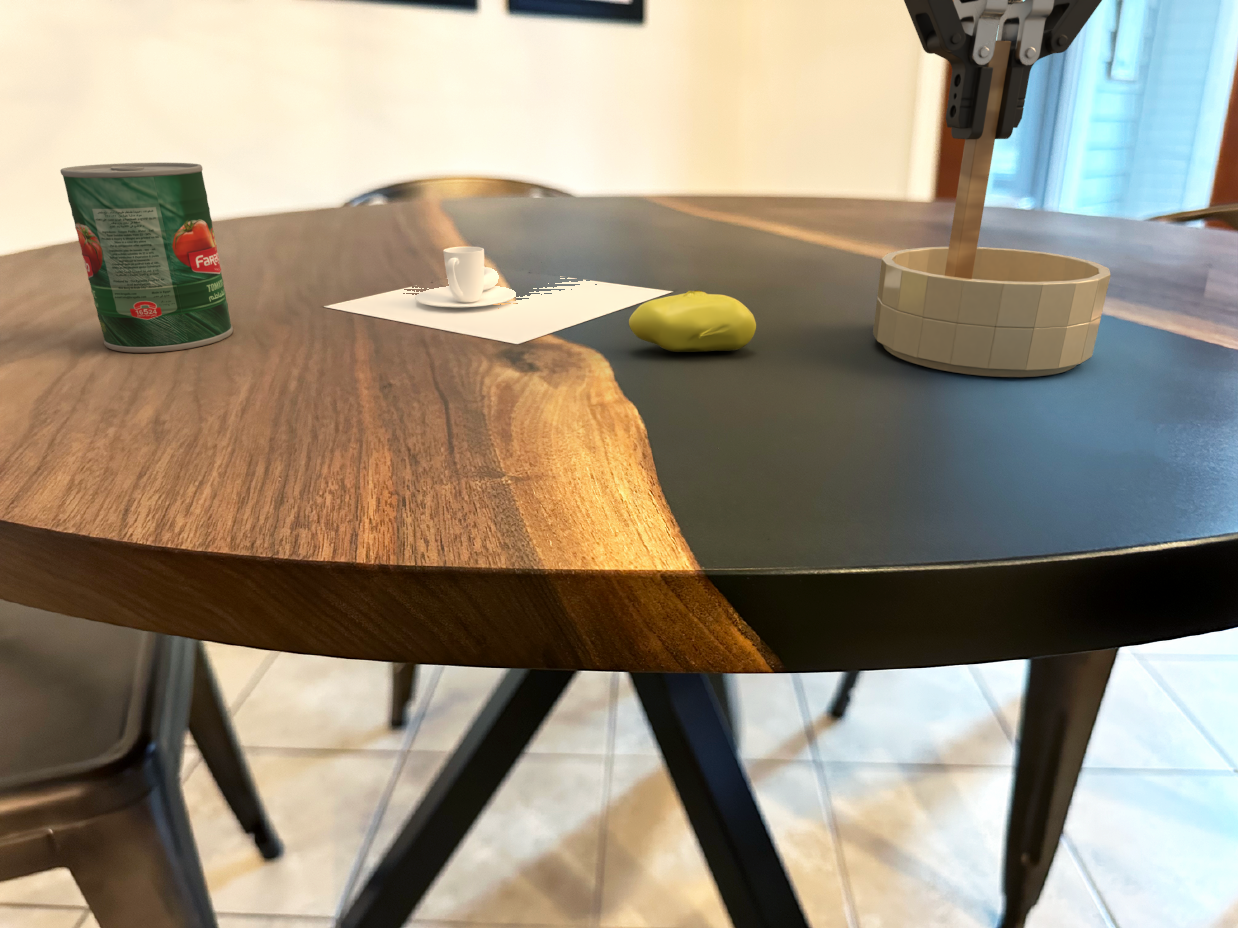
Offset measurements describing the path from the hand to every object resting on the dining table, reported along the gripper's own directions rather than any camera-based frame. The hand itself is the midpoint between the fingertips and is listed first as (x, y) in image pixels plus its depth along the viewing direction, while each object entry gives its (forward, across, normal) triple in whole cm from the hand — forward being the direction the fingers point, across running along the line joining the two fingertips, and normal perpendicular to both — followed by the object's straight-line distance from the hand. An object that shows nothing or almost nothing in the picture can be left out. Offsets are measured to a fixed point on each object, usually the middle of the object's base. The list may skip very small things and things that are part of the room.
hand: (980, 137), depth 48 cm
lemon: (+13, -16, +3) cm, 21 cm away
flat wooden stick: (+10, 0, 0) cm, 10 cm away
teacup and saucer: (+13, -27, +21) cm, 37 cm away
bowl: (+13, +2, 0) cm, 13 cm away
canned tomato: (+13, -50, +13) cm, 53 cm away
